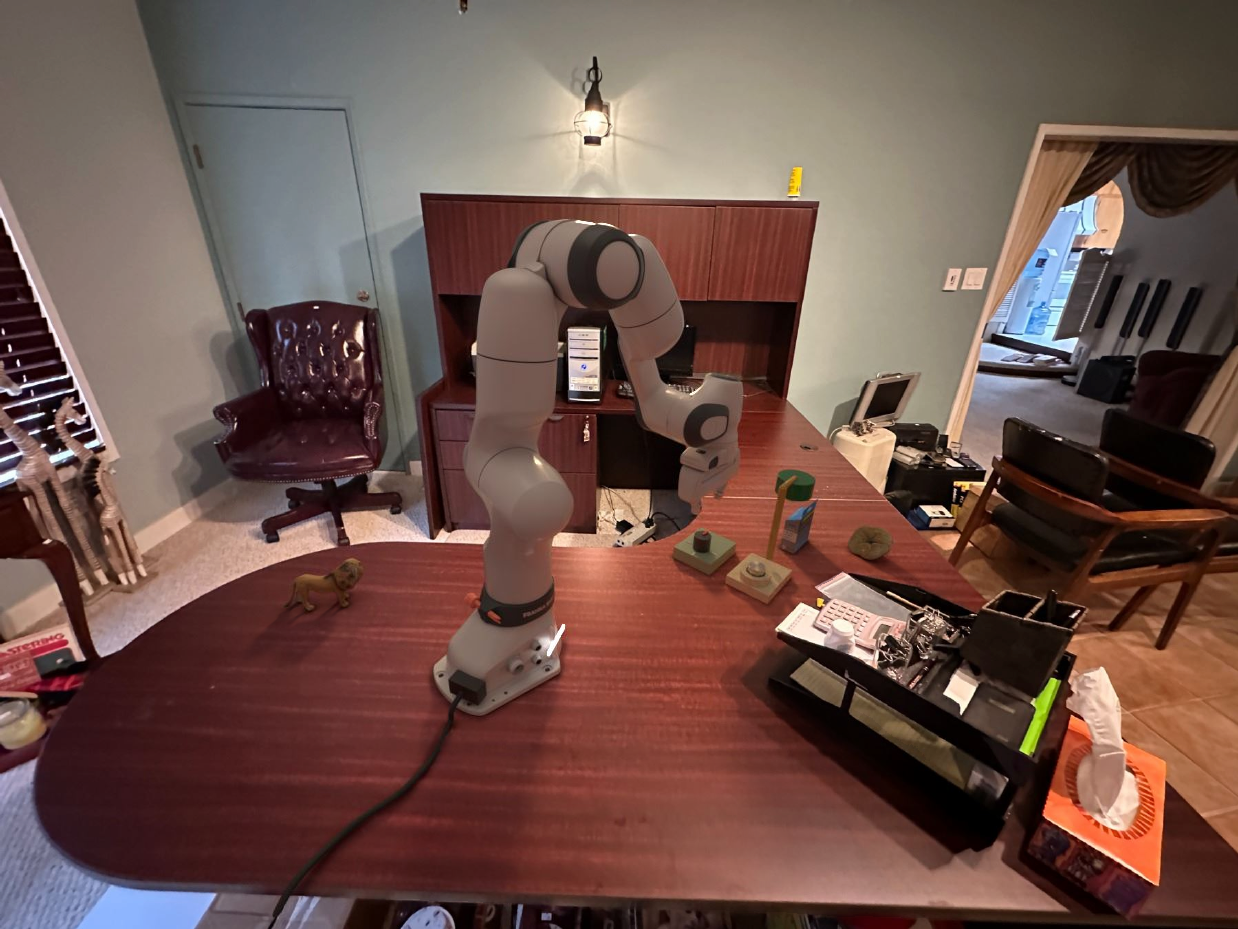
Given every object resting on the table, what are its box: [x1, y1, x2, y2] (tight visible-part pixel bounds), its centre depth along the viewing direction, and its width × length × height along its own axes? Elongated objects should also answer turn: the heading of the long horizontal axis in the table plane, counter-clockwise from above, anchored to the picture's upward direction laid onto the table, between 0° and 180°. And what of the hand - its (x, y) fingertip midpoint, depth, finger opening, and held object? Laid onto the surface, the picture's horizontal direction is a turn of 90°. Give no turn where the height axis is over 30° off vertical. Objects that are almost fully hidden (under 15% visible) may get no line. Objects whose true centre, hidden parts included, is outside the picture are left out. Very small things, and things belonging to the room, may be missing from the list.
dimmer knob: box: [693, 530, 712, 553], centre depth 115 cm, size 4×4×4 cm
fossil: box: [847, 524, 894, 560], centre depth 121 cm, size 9×4×10 cm
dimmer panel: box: [672, 527, 737, 576], centre depth 117 cm, size 12×10×3 cm
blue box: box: [779, 498, 819, 555], centre depth 122 cm, size 9×4×12 cm, turn 139°
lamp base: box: [724, 552, 793, 605], centre depth 109 cm, size 12×10×4 cm
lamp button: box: [747, 561, 765, 577], centre depth 106 cm, size 4×4×2 cm
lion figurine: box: [283, 557, 365, 612], centre depth 96 cm, size 15×5×9 cm, turn 110°
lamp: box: [764, 468, 816, 561], centre depth 111 cm, size 12×8×19 cm
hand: (707, 505), depth 111 cm, fingers open, 8 cm apart
